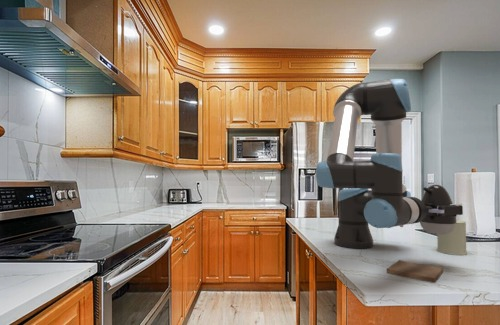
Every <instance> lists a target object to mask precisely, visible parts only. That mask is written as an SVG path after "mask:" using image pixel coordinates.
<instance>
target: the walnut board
mask: <svg viewBox="0 0 500 325" xmlns="http://www.w3.org/2000/svg"><path fill="white" fill-rule="evenodd" d="M386 273H387V274H391V275H395V276H400V277H404V278H410V279H415V280H419V281H424V282H429V283H433V284H435V283H436V282H437V281H438V280H439V278H440V277H441V276H442V275H443V273H444V267H440V266H435V265H429V264H422V263H417V262H412V261H406V260H400V259H398V260H397V261H395V263H393V264H391V265H390V266H389V267H387V268H386Z"/></svg>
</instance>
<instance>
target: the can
mask: <svg viewBox="0 0 500 325" xmlns="http://www.w3.org/2000/svg"><path fill="white" fill-rule="evenodd" d="M456 220H457V223H456V224H455V227H454V229H453V231H451V232H450V233H448V234H436V236H437V237H436V238H437V249H436V251H437V252H439V253H442V254H445V255H454V256H464V255H467V254H468V251H467V233H466V232H467V221H466V220H459V219H456Z"/></svg>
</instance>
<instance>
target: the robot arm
mask: <svg viewBox="0 0 500 325" xmlns="http://www.w3.org/2000/svg"><path fill="white" fill-rule="evenodd" d="M410 97H411V96H410V92H409V85H408V82H407V80H405V79H404V78H390V79H389V78H388V79H382V80H377V81H376V80H375V81H369V82H368V81H367V82H358V83H356V84H354V85H352V86H349V87H348V88H347V89H346V90H344V91H343V92H342V93H341V94H340V95H339V96H338V98H337V100H336V101H335V104H334V106H333V110H332V111H333V112H332V114H333V118H334V120H333V124H332V125H333V126H332V131H331V135H330V140H329V141H330V142H329V146H328V152H327V156H326V160H324V161H320V162H318V163H317V164H316V168H315V180H316V183H317V186H318V187H320V188H325V189H341V190H339V192H338V199H337V204H338V206H337V208H338V226H337V228H336V232H335V235H334V237H333V238H334V239H333V240H334V242H333V243H334V244H335V245H337V246H340V247H342V248H343V247H344V248H350V249H369V248H370V249H371V248H373V247H374V238H373V236H372V233H371V230H370V227H369V225H370V226H372V227H373V228H375V229H376V228H377V229H385V228H386V229H391V228H393V227H398V226H399V227H400V228H403V227H404V226H405V225H414V224H418V223H420V222H421V221H422V220H423V219H424V218H425V217H427V216H435V215H436V214H437V215H438V216H446V215H453V216H456V217H457V216H462V215H464V211H463V209H464V208H463V203H453V204H450V205H435V204H427V203H423V202H422V199H420V198H418V197H415V196H412V195H411V194H412V193H411V192H410V191H409V190H407V186H406V185H404V184H403V161H402V159H403V157H402V154H403V153H402V150H403V149H402V148H403V147H402V145H403V143H402V142H403V139H402V135H403V134H402V131H403V130H402V123H403V122H404V120H405V119H406V118H407V113H409V112H411V111H412V106H411V105H412V104H411V98H410ZM362 116H370V121H372V122H373V123H374V125H375V152H376V153H373V154H371V157H370V160H358V161H357V160H356V161H355V160H354V158H355V157H354V156H355V148H356V138H357V129H358V120H359V119H360V118H361V117H362ZM430 206H431V207H430Z"/></svg>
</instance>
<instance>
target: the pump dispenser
mask: <svg viewBox="0 0 500 325" xmlns="http://www.w3.org/2000/svg"><path fill="white" fill-rule="evenodd" d="M422 190H423V191H425V192H424V193H423V196H422V198H421V201H422V202H423V203H427V204H435V205H450V204H454V203H453V201H452V198H451V196H450V193H449V192H448V191H447V189H446V188H445V187H444V186H442V185H440V184H431V185H429V186H428V187H427V186H425V187H424V186H423V189H422ZM430 207H431V206H430ZM457 220H458V219H457V216H453V215H446V216H438V215H437V214H436V215H435V216H427V217H425V218H424V219H423V220H422V221H421V222H419V223H420V224H419V225H420V226H421V229H423V230H424V231H425V232H427V233H430V234H433V235H437V234H448V233H450V232H451V231H453V229H454V227H455V224H456V223H457Z"/></svg>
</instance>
